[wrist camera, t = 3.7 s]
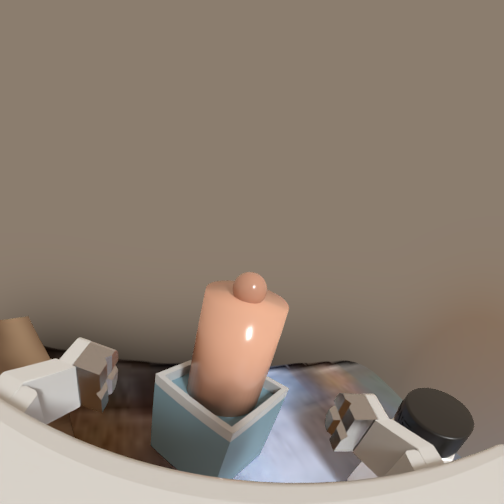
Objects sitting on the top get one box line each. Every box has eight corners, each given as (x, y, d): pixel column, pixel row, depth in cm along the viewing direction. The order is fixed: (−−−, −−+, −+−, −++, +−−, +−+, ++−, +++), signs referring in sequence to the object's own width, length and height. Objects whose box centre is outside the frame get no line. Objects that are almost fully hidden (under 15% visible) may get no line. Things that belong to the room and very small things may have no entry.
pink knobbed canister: (227, 428, 19) (267, 297, 16) (171, 385, 22) (192, 261, 20) (270, 396, 24) (309, 283, 21) (218, 363, 27) (245, 256, 24)
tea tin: (210, 495, 19) (233, 433, 17) (150, 445, 23) (155, 373, 21) (259, 454, 26) (288, 388, 24) (203, 415, 30) (219, 347, 28)
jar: (372, 451, 28) (420, 376, 25) (421, 480, 22) (479, 407, 20) (333, 489, 22) (391, 411, 19) (390, 526, 16) (466, 453, 13)
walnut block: (-16, 462, 11) (-49, 403, 10) (-38, 386, 17) (-56, 327, 15) (74, 437, 20) (63, 380, 19) (36, 372, 26) (28, 316, 24)
